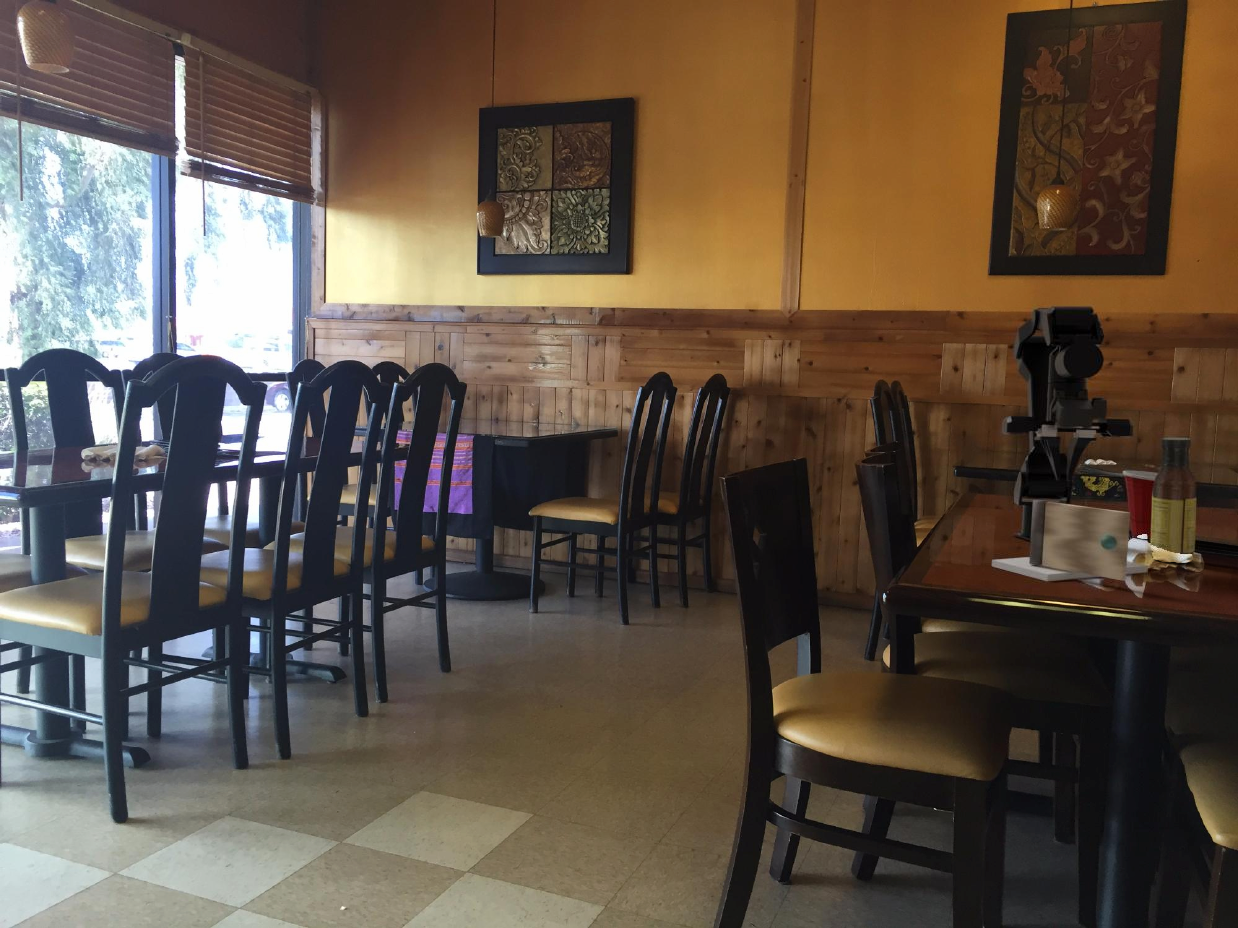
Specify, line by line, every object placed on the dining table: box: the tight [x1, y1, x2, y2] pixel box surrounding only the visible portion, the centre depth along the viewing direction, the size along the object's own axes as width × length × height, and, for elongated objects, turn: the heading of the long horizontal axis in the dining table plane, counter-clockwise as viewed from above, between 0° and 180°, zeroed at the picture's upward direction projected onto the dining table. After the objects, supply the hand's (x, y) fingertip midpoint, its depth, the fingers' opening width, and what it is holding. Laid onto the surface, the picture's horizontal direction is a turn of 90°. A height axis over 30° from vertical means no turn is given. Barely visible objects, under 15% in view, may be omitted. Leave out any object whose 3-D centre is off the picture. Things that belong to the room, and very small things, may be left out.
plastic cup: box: [1122, 470, 1158, 541], centre depth 179 cm, size 11×11×12 cm
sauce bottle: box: [1150, 437, 1197, 555], centre depth 157 cm, size 7×6×20 cm
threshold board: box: [991, 556, 1149, 582], centre depth 150 cm, size 20×11×1 cm, turn 112°
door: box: [1029, 499, 1131, 581], centre depth 142 cm, size 14×4×10 cm, turn 35°
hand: (1063, 480), depth 159 cm, fingers closed
